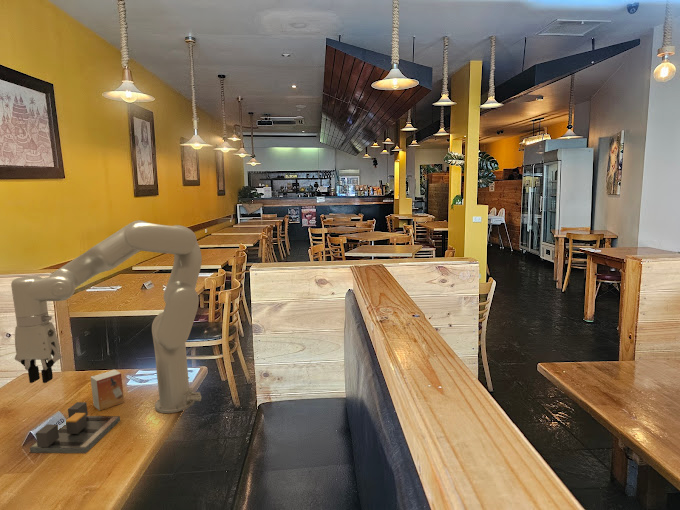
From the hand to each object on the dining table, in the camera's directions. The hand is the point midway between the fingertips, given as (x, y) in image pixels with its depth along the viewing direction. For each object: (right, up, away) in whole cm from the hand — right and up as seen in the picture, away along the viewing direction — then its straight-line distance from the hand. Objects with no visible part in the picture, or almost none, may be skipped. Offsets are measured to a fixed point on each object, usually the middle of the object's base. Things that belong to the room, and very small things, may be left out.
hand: (41, 380), depth 127 cm
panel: (+9, -17, +2) cm, 19 cm away
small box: (+9, -14, +21) cm, 27 cm away
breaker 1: (+5, -16, -4) cm, 17 cm away
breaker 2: (+6, -14, +8) cm, 17 cm away
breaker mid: (+9, -15, +2) cm, 18 cm away
